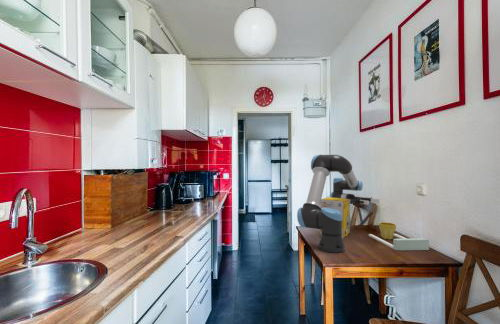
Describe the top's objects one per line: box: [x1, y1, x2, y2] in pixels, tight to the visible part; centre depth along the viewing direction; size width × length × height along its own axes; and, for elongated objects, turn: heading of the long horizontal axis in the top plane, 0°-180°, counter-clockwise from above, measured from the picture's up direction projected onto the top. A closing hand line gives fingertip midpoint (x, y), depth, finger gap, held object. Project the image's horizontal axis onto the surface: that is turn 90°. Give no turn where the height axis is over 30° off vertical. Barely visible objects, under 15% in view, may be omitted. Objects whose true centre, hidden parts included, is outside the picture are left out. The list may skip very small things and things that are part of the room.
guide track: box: [368, 233, 430, 251], centre depth 173 cm, size 32×20×6 cm, turn 4°
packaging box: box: [319, 196, 351, 239], centre depth 192 cm, size 16×16×25 cm
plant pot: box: [378, 221, 397, 240], centre depth 183 cm, size 10×10×10 cm
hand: (374, 202), depth 191 cm, fingers open, 13 cm apart
